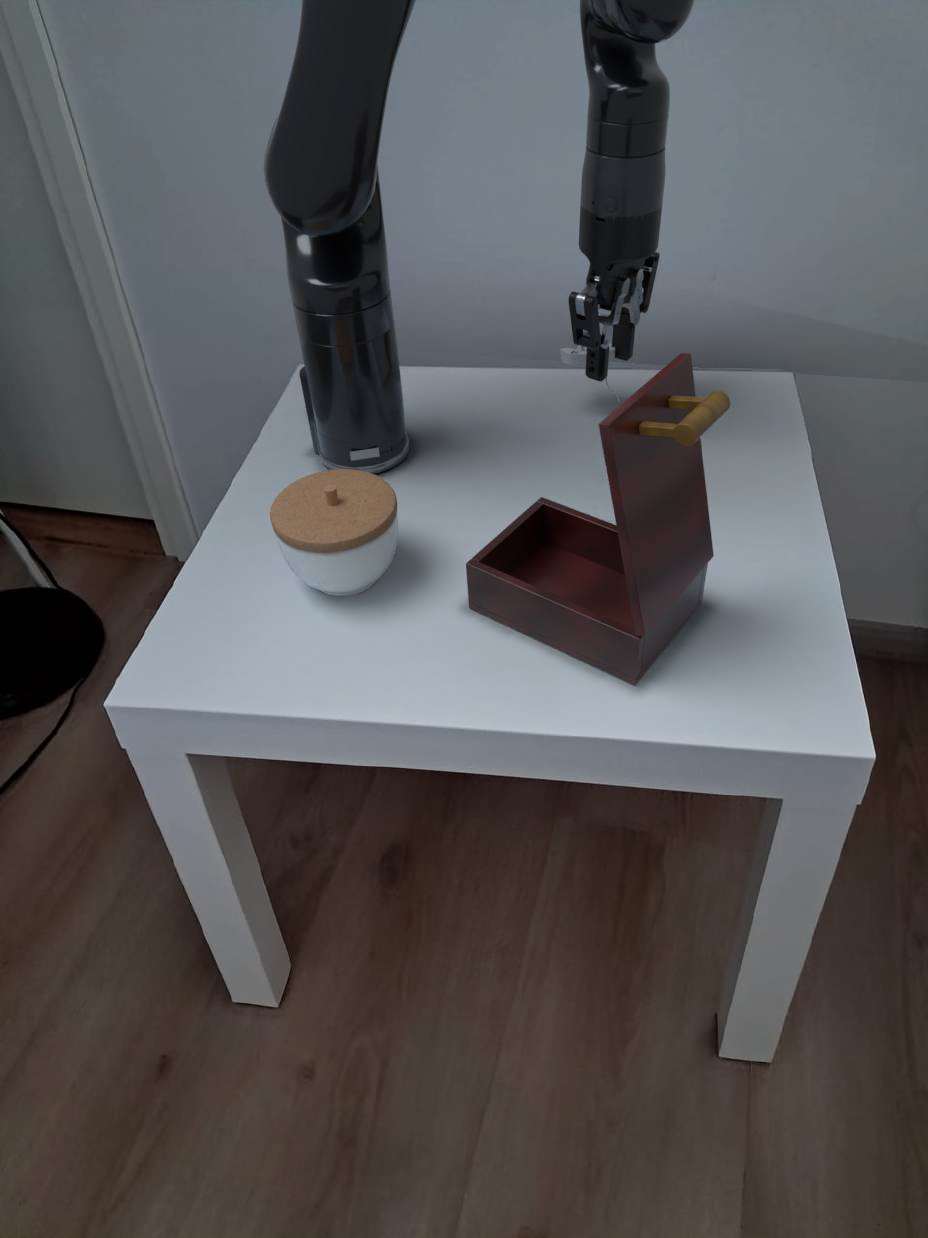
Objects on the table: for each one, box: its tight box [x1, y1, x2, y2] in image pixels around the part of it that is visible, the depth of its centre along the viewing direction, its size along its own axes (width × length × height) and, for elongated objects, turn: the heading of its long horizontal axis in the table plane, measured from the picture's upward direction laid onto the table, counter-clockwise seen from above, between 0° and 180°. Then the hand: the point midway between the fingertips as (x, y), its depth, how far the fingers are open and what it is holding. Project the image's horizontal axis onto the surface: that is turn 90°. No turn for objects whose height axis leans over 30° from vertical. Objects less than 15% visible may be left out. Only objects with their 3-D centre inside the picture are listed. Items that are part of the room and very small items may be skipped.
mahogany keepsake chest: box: [465, 496, 709, 687], centre depth 77 cm, size 16×11×5 cm
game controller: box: [560, 342, 620, 406], centre depth 97 cm, size 6×12×3 cm, turn 31°
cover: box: [598, 352, 731, 636], centre depth 66 cm, size 17×11×5 cm
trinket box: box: [269, 469, 399, 597], centre depth 81 cm, size 11×11×9 cm
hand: (608, 367), depth 98 cm, fingers closed on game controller, 4 cm apart
